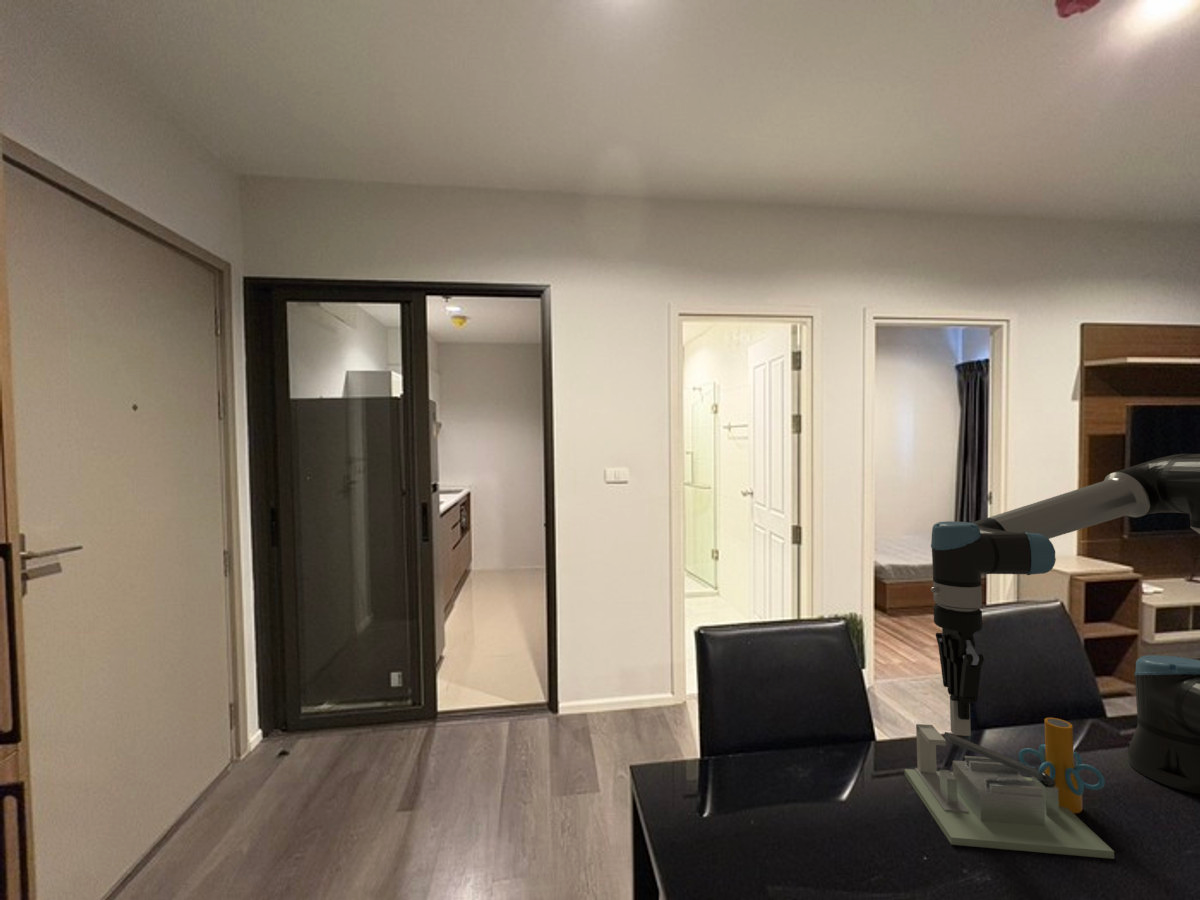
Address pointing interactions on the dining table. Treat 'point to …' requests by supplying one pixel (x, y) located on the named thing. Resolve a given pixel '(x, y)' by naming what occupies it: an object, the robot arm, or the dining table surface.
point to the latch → (927, 747)
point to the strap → (1000, 758)
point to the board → (1006, 825)
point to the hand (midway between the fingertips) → (960, 733)
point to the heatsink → (999, 792)
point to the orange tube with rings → (1063, 764)
